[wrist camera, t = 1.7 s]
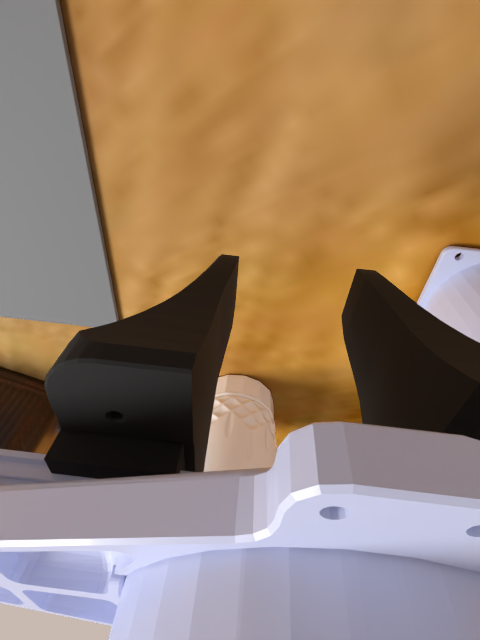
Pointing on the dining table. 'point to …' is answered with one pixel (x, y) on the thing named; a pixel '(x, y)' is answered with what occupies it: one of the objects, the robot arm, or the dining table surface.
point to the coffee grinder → (25, 414)
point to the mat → (46, 179)
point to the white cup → (241, 426)
